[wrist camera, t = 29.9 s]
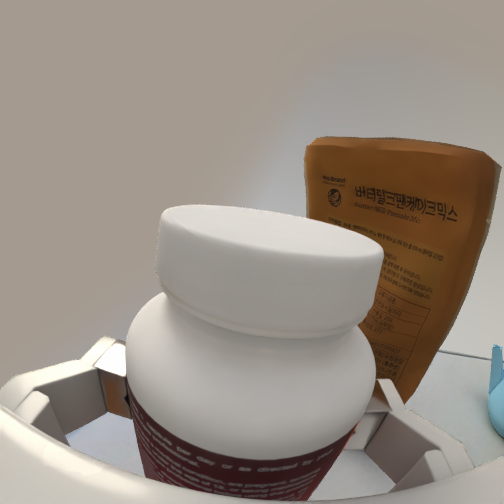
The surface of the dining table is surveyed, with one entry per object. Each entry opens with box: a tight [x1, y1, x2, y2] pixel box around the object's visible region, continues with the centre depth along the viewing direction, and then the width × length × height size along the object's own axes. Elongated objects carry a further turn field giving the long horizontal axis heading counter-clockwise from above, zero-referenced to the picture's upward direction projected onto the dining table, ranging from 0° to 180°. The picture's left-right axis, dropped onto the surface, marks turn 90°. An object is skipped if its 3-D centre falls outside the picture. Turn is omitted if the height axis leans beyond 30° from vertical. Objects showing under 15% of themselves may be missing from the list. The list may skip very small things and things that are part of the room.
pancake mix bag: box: [304, 136, 502, 405], centre depth 24 cm, size 7×19×28 cm, turn 27°
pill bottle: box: [125, 205, 384, 501], centre depth 7 cm, size 6×6×11 cm
